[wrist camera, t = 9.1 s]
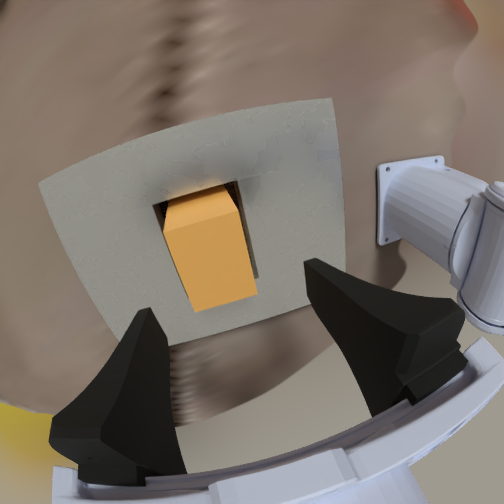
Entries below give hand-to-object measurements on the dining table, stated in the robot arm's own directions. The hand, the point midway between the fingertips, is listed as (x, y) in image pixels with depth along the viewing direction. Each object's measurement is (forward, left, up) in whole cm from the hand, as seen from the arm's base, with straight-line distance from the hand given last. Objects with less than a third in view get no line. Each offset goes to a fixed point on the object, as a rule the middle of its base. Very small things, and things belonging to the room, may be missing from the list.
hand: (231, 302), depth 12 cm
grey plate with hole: (0, 0, -9) cm, 9 cm away
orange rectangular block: (0, 0, -9) cm, 9 cm away
